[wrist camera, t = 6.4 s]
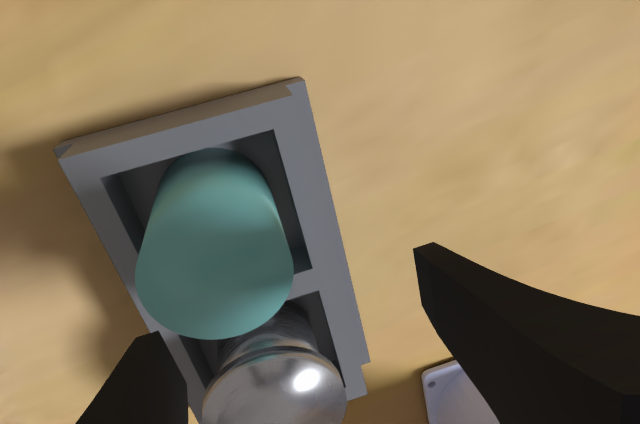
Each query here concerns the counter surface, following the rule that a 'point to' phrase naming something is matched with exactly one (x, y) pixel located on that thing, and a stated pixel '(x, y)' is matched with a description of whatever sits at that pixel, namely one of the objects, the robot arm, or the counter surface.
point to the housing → (301, 234)
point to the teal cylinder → (213, 248)
